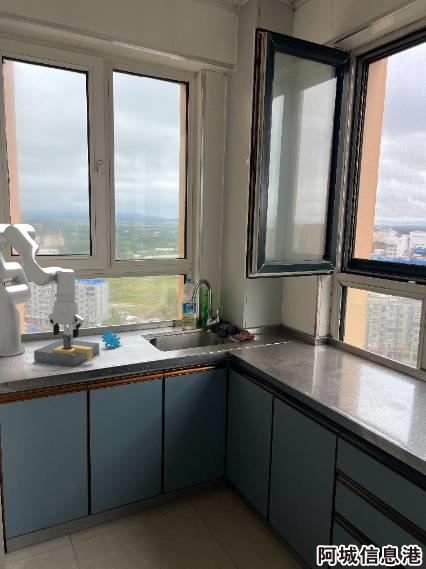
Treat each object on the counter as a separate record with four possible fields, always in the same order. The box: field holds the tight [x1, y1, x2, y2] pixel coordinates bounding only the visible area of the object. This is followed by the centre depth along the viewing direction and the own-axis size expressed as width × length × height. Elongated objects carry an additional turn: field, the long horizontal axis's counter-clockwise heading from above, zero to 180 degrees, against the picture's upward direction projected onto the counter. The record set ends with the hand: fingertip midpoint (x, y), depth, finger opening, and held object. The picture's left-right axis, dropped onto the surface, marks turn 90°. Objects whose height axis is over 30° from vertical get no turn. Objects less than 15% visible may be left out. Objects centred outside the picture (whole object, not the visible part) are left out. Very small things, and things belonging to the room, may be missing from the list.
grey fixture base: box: [33, 324, 100, 368], centre depth 193 cm, size 20×20×15 cm
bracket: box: [53, 345, 94, 361], centre depth 188 cm, size 16×9×5 cm, turn 73°
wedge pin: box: [62, 333, 71, 350], centre depth 188 cm, size 3×3×12 cm
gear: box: [101, 330, 122, 350], centre depth 212 cm, size 11×6×10 cm
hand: (65, 335), depth 188 cm, fingers open, 9 cm apart
